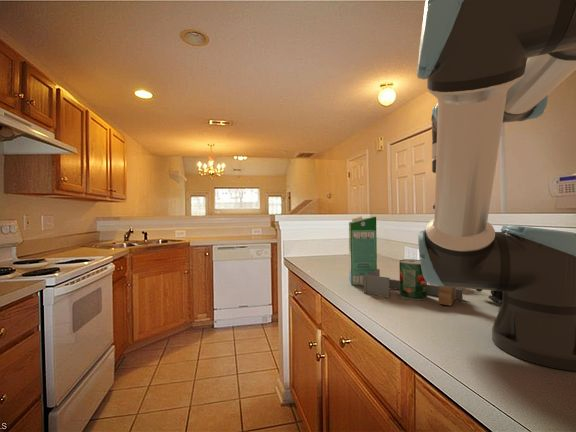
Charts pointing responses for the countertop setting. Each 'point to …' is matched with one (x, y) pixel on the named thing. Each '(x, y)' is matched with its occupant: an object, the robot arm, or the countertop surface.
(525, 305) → the robot arm
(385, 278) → the frame
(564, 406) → the countertop surface
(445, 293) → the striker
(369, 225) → the milk carton
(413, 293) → the canned tomato
